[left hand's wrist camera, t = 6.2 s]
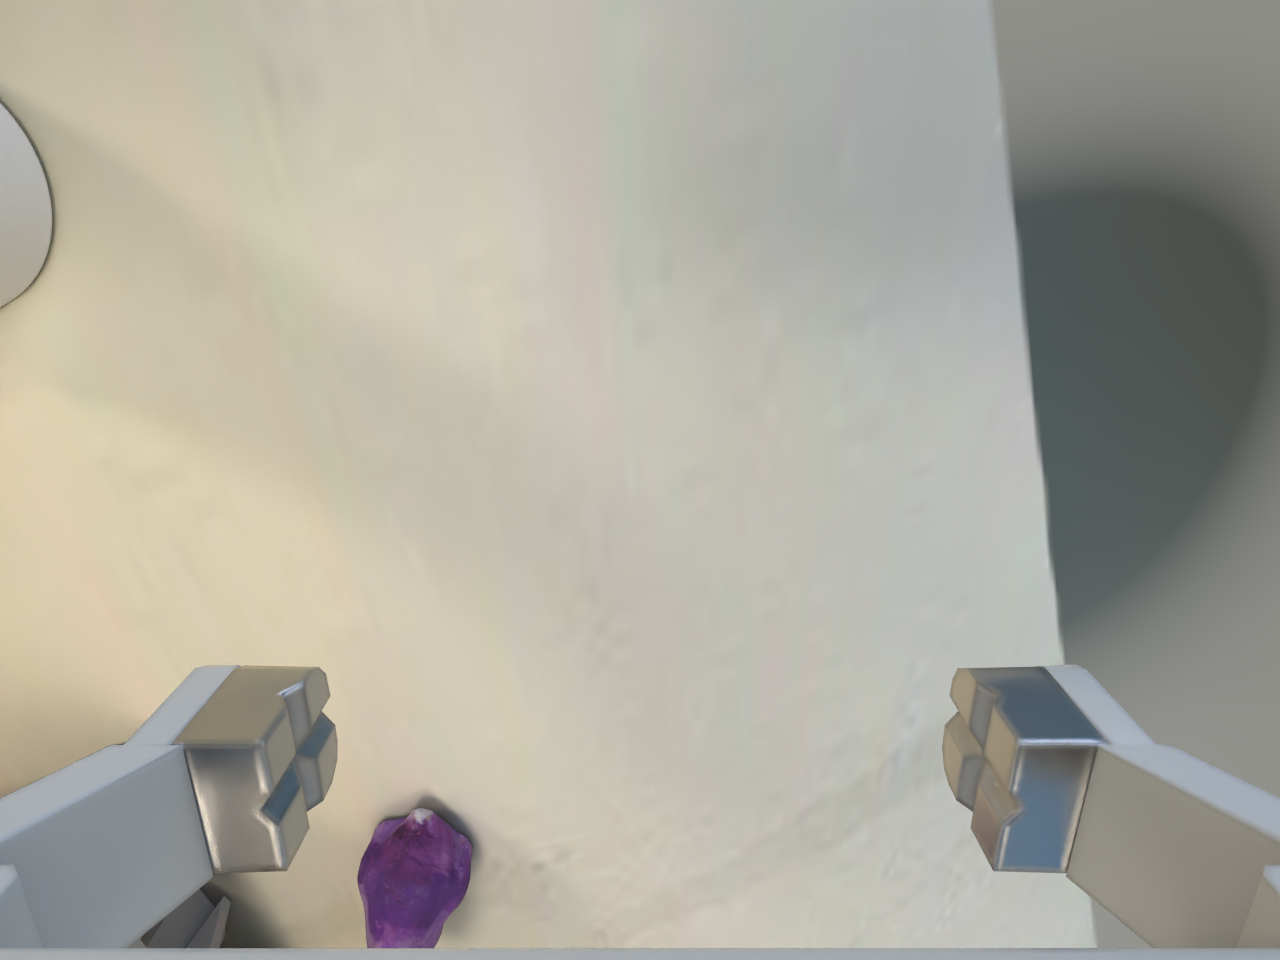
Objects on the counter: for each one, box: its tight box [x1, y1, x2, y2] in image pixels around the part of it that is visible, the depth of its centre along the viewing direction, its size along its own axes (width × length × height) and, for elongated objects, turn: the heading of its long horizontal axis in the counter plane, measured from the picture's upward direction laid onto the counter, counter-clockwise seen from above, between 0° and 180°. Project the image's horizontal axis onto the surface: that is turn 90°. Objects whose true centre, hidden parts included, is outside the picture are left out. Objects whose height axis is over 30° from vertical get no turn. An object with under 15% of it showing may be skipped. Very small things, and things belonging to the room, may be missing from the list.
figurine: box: [358, 808, 473, 948], centre depth 57 cm, size 9×10×15 cm
